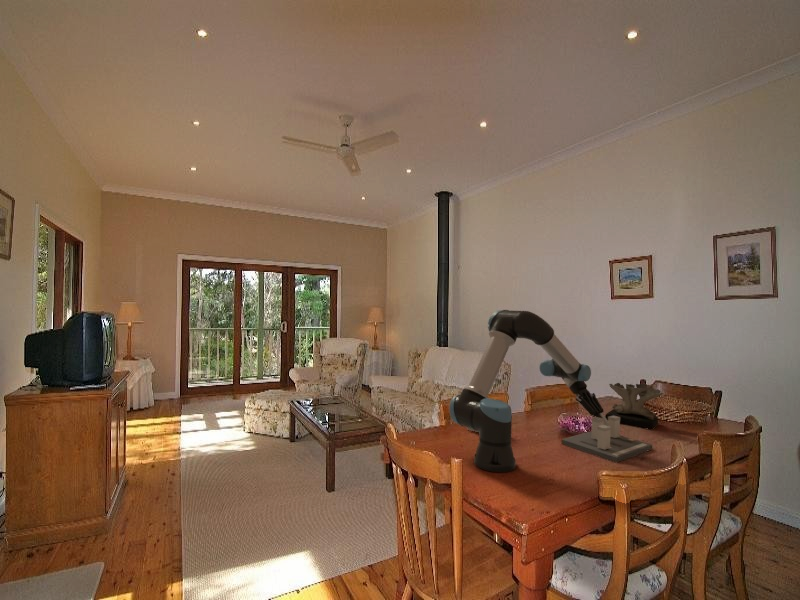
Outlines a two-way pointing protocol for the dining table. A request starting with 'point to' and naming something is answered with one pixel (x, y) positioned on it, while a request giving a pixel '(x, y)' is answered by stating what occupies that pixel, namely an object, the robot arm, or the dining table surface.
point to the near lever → (603, 437)
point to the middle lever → (595, 423)
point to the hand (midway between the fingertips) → (608, 427)
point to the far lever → (614, 426)
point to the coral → (635, 405)
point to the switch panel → (617, 451)
